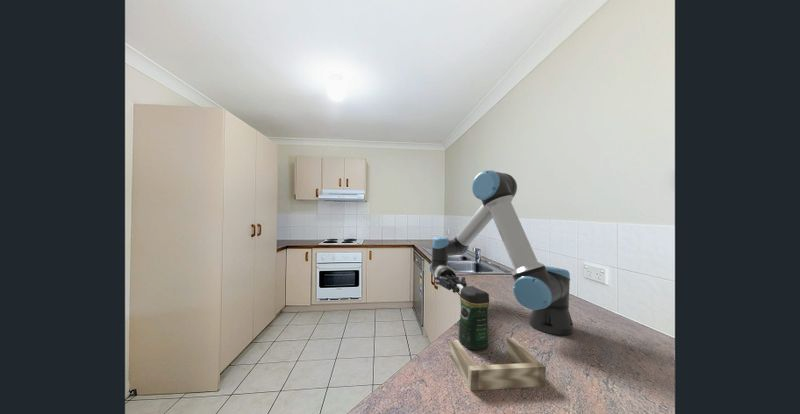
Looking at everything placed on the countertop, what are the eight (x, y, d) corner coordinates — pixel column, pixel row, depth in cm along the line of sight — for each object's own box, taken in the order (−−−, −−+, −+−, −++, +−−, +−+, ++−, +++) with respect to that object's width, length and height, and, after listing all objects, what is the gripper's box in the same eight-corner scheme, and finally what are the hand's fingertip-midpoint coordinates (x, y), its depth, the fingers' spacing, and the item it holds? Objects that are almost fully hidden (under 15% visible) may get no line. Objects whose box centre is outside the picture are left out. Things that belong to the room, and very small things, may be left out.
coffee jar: (492, 349, 91) (494, 291, 91) (471, 353, 89) (473, 293, 89) (474, 335, 100) (476, 283, 100) (454, 338, 98) (456, 284, 98)
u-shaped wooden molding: (512, 353, 89) (512, 337, 89) (545, 386, 73) (545, 366, 73) (450, 356, 86) (450, 339, 86) (470, 390, 70) (471, 370, 70)
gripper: (459, 284, 127) (481, 303, 103) (430, 284, 125) (446, 303, 101) (459, 267, 126) (482, 282, 103) (431, 267, 125) (447, 282, 101)
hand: (464, 293), depth 102 cm, fingers closed
